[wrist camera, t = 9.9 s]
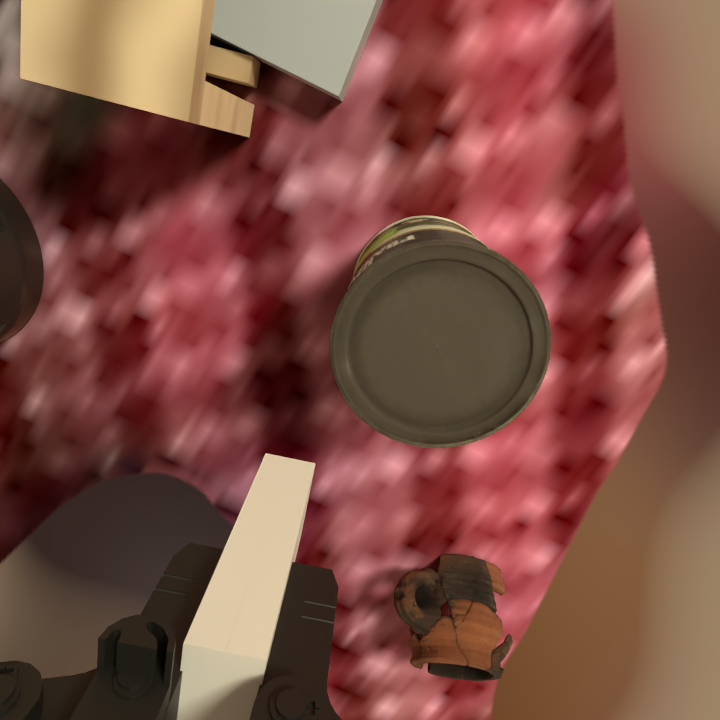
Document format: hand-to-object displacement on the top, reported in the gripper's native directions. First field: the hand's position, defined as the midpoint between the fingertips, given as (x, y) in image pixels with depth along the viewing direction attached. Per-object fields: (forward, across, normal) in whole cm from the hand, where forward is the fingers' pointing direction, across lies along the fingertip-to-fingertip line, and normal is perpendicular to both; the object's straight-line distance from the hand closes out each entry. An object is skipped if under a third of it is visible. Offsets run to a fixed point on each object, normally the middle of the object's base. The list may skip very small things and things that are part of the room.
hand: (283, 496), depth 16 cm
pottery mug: (+24, +14, -24) cm, 37 cm away
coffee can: (+24, +5, +2) cm, 25 cm away
